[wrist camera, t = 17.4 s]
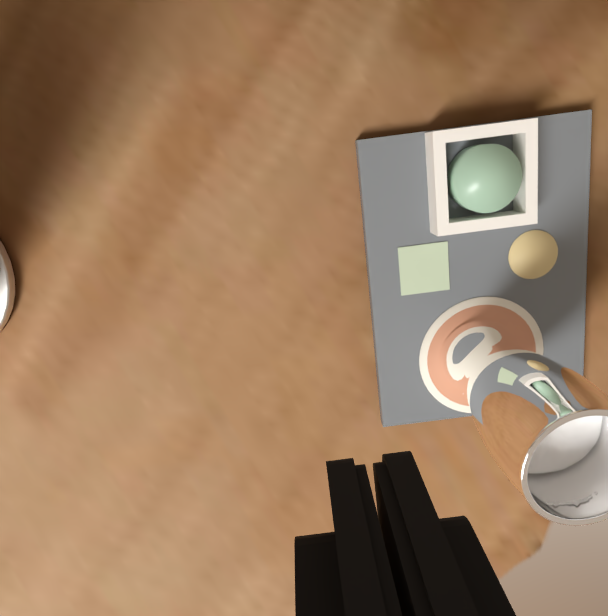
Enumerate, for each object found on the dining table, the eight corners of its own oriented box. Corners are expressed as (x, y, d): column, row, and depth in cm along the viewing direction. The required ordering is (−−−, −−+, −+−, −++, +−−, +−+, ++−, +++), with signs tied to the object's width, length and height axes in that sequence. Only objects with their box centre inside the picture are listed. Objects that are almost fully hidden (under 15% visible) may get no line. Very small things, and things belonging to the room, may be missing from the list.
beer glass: (445, 306, 38) (539, 397, 24) (534, 319, 39) (679, 415, 24) (425, 391, 40) (501, 522, 26) (510, 402, 41) (631, 536, 26)
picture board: (381, 420, 42) (387, 440, 39) (355, 140, 36) (361, 139, 33) (575, 396, 42) (596, 413, 39) (583, 110, 36) (609, 106, 33)
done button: (447, 213, 36) (456, 217, 34) (444, 148, 35) (453, 148, 33) (509, 205, 36) (522, 208, 34) (509, 140, 35) (522, 139, 33)
